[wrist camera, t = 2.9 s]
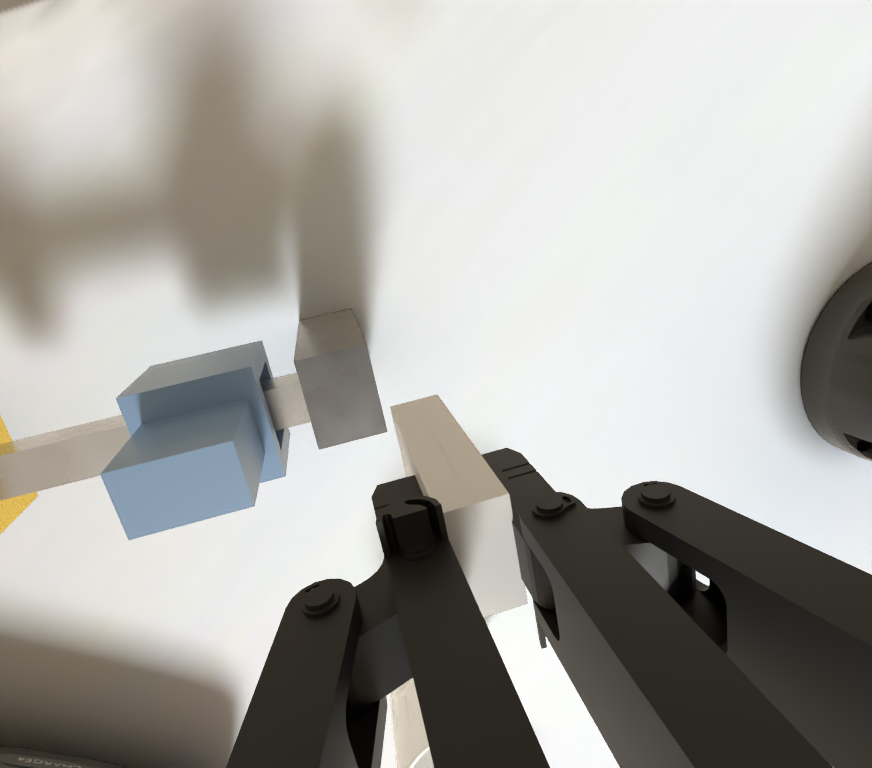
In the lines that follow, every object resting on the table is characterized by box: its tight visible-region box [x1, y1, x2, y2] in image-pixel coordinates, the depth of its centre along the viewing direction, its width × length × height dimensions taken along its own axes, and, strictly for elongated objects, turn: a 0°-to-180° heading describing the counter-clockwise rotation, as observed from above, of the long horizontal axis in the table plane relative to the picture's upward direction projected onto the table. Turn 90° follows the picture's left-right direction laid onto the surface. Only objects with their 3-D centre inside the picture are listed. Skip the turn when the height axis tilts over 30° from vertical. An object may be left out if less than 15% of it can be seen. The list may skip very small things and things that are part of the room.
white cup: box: [390, 678, 434, 768], centre depth 35 cm, size 8×8×10 cm
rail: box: [0, 309, 387, 534], centre depth 26 cm, size 25×4×11 cm, turn 101°
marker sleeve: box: [100, 341, 290, 540], centre depth 22 cm, size 5×5×9 cm
